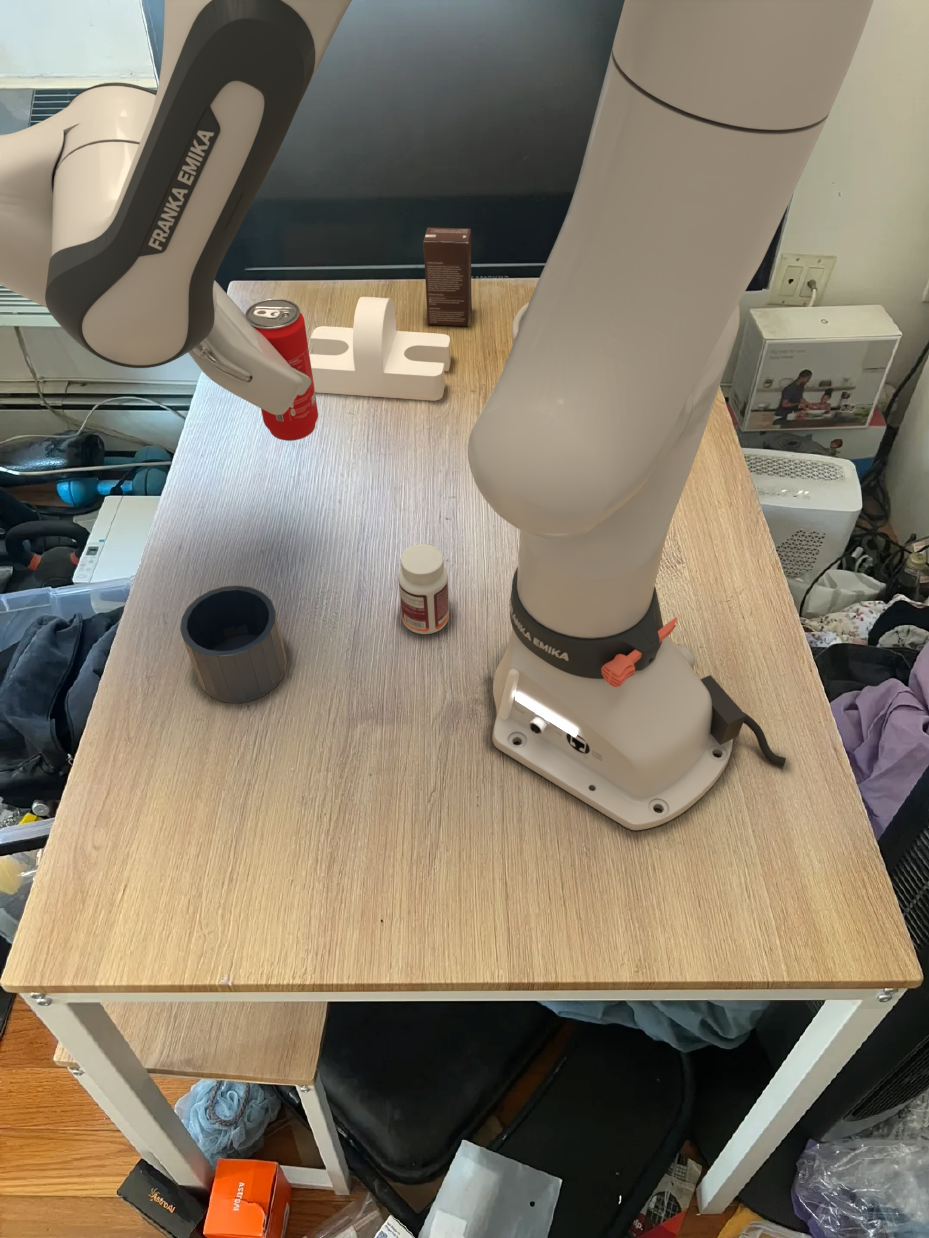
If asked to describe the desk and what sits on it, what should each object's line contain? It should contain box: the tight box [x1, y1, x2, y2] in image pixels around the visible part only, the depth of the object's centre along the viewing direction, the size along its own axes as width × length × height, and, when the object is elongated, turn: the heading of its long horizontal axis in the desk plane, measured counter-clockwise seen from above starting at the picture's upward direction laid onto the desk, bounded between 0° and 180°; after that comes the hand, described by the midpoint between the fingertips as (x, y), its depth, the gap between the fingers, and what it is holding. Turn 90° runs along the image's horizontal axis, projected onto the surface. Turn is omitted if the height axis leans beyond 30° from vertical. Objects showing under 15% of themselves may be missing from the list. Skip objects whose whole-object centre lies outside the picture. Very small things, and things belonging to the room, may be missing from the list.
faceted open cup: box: [179, 584, 288, 704], centre depth 84 cm, size 8×8×7 cm
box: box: [422, 227, 473, 327], centre depth 123 cm, size 6×4×12 cm
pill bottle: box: [397, 543, 450, 635], centre depth 88 cm, size 5×5×8 cm
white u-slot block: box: [309, 296, 451, 402], centre depth 115 cm, size 10×18×10 cm, turn 83°
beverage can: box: [244, 298, 319, 442], centre depth 83 cm, size 5×5×12 cm
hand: (288, 367), depth 83 cm, fingers closed on beverage can, 5 cm apart
